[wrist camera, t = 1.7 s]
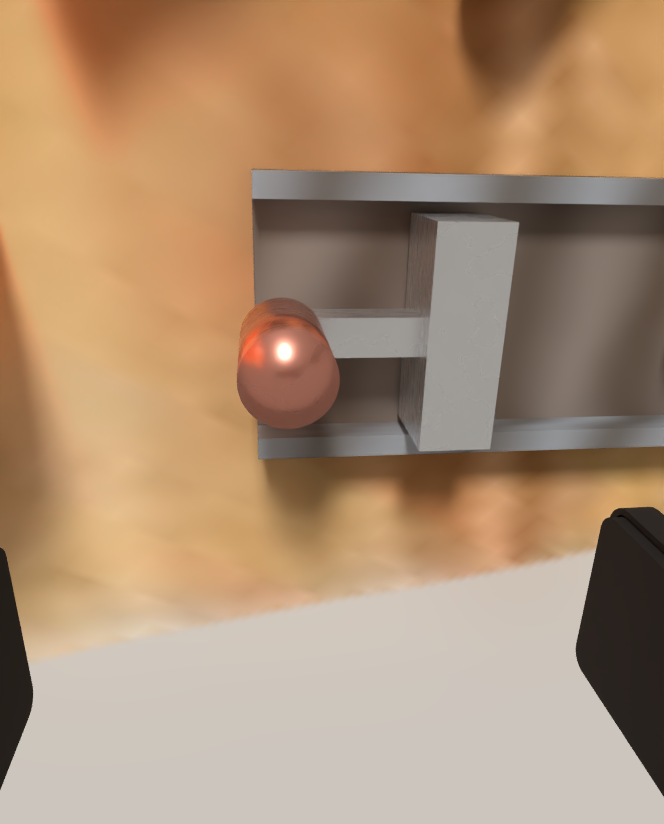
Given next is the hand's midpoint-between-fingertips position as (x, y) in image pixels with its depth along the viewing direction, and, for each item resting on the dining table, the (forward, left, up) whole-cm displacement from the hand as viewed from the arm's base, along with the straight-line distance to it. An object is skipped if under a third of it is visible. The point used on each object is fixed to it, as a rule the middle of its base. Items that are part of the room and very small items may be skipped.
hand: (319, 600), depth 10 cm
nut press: (-12, 0, -20) cm, 23 cm away
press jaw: (-4, 0, -18) cm, 19 cm away
